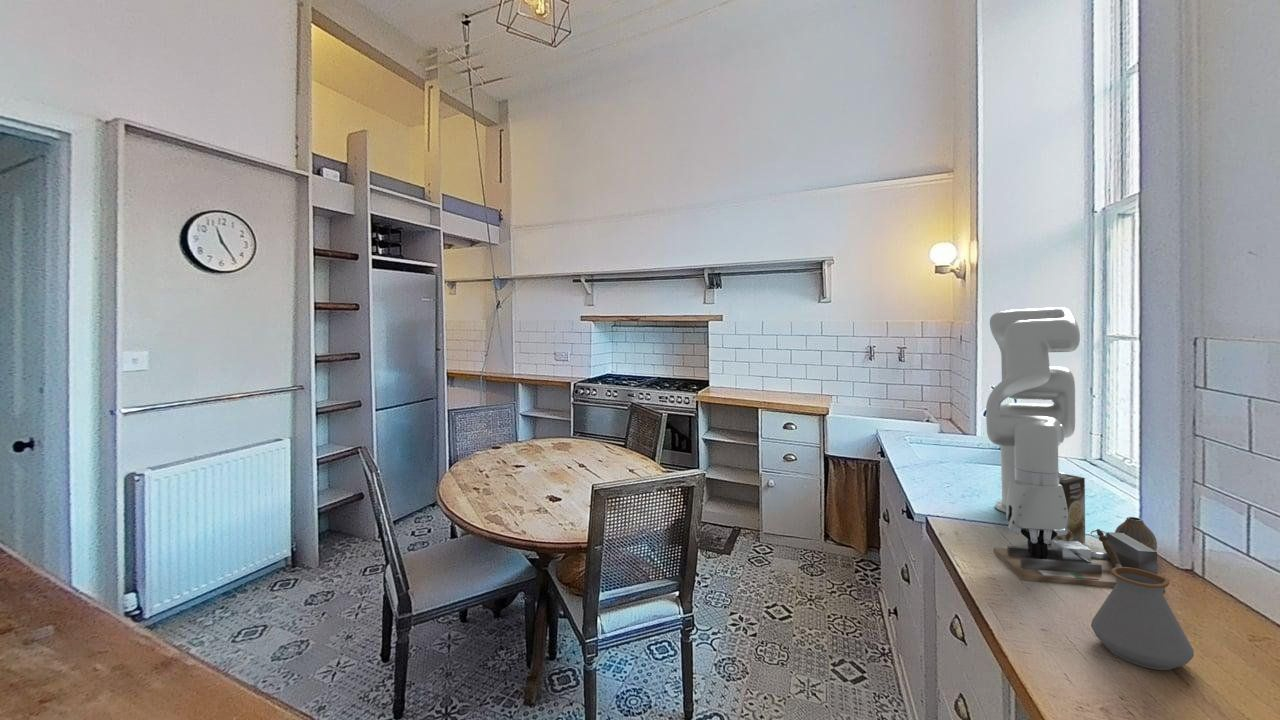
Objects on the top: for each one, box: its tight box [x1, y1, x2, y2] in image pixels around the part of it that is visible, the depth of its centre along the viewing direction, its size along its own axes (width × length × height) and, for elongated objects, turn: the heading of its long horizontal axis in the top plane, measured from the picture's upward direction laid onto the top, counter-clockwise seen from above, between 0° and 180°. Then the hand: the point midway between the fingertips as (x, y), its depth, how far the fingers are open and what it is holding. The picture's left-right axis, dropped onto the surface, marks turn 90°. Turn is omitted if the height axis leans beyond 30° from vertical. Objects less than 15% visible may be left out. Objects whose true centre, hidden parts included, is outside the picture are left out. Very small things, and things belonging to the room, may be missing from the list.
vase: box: [1114, 516, 1158, 552], centre depth 110 cm, size 7×7×9 cm
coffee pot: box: [1090, 528, 1195, 671], centre depth 82 cm, size 21×12×15 cm, turn 154°
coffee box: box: [1036, 473, 1086, 545], centre depth 120 cm, size 9×6×16 cm
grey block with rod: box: [1051, 540, 1118, 563], centre depth 103 cm, size 11×9×4 cm
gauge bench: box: [993, 531, 1166, 592], centre depth 105 cm, size 24×14×7 cm, turn 74°
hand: (1037, 558), depth 107 cm, fingers closed
